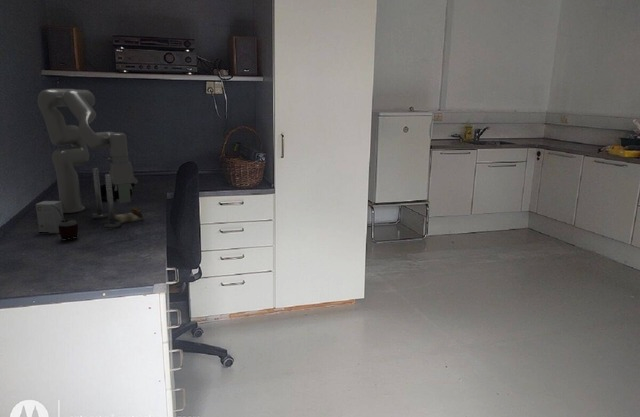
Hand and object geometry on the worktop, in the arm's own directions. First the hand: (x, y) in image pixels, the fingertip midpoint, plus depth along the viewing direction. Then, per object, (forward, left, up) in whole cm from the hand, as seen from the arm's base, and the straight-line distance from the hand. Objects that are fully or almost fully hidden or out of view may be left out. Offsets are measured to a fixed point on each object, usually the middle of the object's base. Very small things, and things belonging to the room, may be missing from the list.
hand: (123, 197), depth 228 cm
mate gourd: (-29, -18, -11) cm, 35 cm away
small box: (-32, -2, -11) cm, 34 cm away
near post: (-9, -10, -11) cm, 17 cm away
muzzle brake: (+9, +54, -11) cm, 56 cm away
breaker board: (+1, 0, -11) cm, 11 cm away
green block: (0, 0, -2) cm, 2 cm away
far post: (-9, +10, -11) cm, 17 cm away
